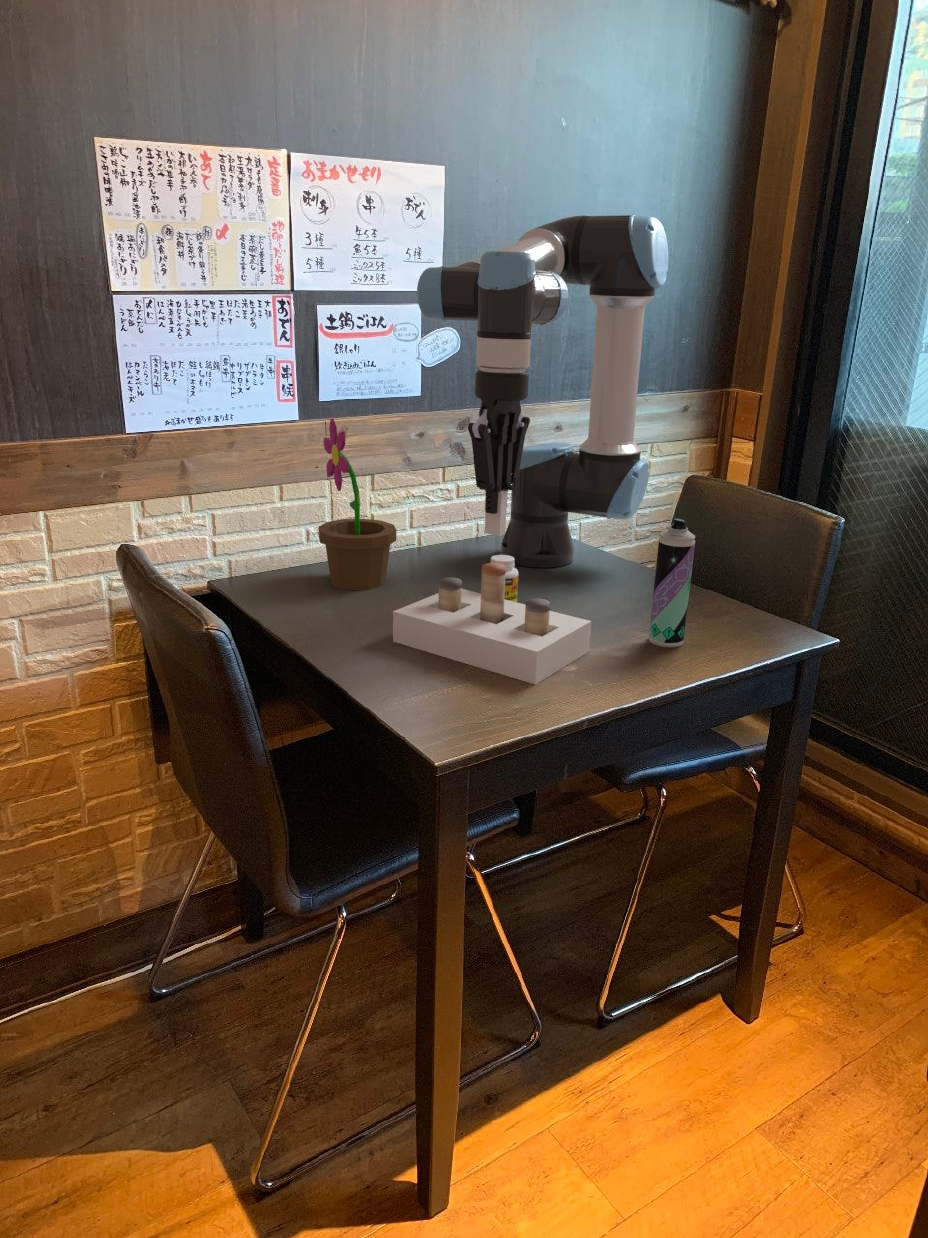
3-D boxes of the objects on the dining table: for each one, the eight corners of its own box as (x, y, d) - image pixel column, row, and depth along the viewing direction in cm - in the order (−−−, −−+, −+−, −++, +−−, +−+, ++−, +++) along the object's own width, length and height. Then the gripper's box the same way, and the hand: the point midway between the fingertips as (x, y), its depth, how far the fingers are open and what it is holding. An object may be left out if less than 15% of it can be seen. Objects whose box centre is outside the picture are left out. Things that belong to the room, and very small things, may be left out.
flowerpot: (308, 574, 176) (304, 414, 166) (379, 566, 183) (378, 411, 172) (334, 597, 164) (331, 426, 154) (408, 588, 171) (410, 422, 160)
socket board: (453, 614, 158) (453, 586, 156) (589, 651, 144) (591, 621, 142) (393, 641, 145) (393, 611, 144) (535, 684, 132) (537, 651, 130)
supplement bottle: (496, 623, 155) (498, 564, 151) (477, 613, 159) (479, 555, 155) (522, 617, 157) (526, 559, 154) (503, 608, 162) (506, 551, 158)
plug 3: (530, 652, 143) (533, 596, 140) (550, 658, 141) (554, 601, 138) (518, 659, 140) (521, 602, 137) (538, 665, 138) (542, 608, 135)
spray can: (642, 637, 150) (654, 516, 144) (670, 633, 152) (684, 514, 145) (660, 649, 146) (674, 524, 139) (690, 645, 148) (705, 522, 141)
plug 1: (446, 628, 151) (447, 575, 148) (464, 633, 149) (466, 580, 146) (433, 634, 148) (434, 581, 145) (451, 640, 147) (452, 585, 143)
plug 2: (488, 616, 146) (490, 561, 143) (507, 621, 144) (510, 566, 141) (475, 622, 143) (477, 566, 140) (494, 628, 141) (497, 571, 138)
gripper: (505, 365, 137) (497, 521, 145) (453, 369, 127) (448, 537, 135) (549, 369, 133) (539, 529, 141) (499, 374, 123) (491, 546, 131)
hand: (494, 533), depth 138 cm, fingers closed
